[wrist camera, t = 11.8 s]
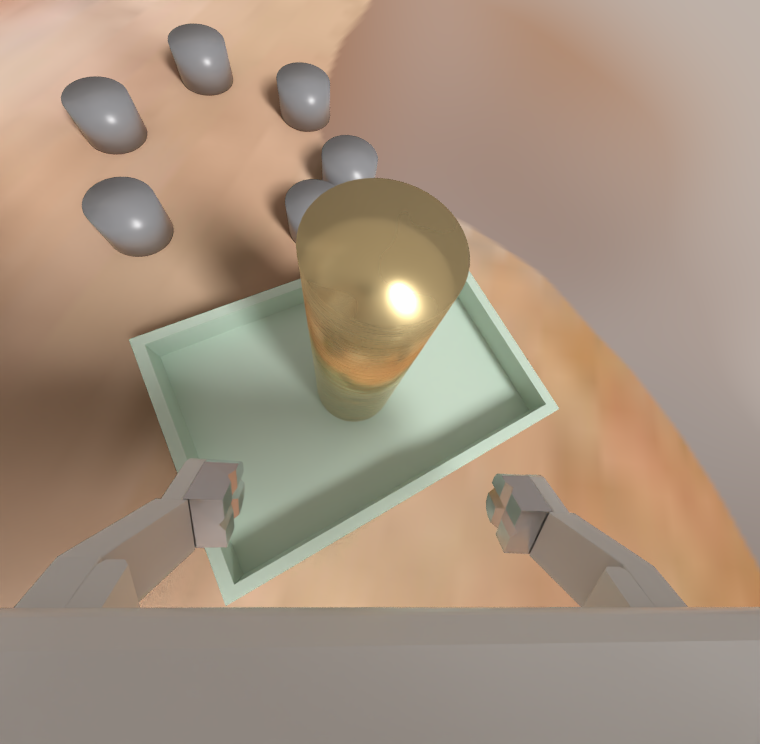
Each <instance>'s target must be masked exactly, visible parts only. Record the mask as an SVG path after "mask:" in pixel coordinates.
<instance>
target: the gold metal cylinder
mask: <svg viewBox="0 0 760 744" xmlns="http://www.w3.org/2000/svg"><path fill="white" fill-rule="evenodd" d="M296 250H297V258H298V265H299V271H300V278H301V284H302V291H303V298H304V304H305V311H306V317H307V324H308V330H309V337H310V343H311V350H312V357H313V363H314V370H315V376H316V383H317V389H318V395H319V398H320V400H321V402H322V404H323V406H324V407H325V408H326V410H327V411H328V412H329V413H331V414H332V415H333V416H335V417H337V418H339V419H342V420H345V421H351V422H357V421H363V420H366V419H369V418H371V417H373V416H374V415H376V414H377V413H378V412H379V411H380V410H381V409H382V408H383V406H384V405H385V404H386V402H387V401H388V399H389V398H390V396H391V395H392V393H393V392H394V390H395V389H396V387H397V386H398V384H399V383H400V381H401V380H402V378H403V377H404V375H405V374H406V372H407V371H408V369H409V368H410V367H411V365H412V364H413V362H414V361H415V359H416V358H417V356H418V355H419V353H420V352H421V350H422V349H423V347H424V346H425V344H426V343H427V341H428V340H429V338H430V337H431V335H432V334H433V332H434V331H435V330H436V328H437V327H438V325H439V324H440V322H441V321H442V319H443V318H444V316H445V315H446V313H447V312H448V310H449V309H450V307H451V306H452V304H453V303H454V301H455V300H456V298H457V297H458V295H459V294H460V292H461V291H462V289H463V287H464V285H465V283H466V280H467V277H468V273H469V267H470V254H469V247H468V243H467V239H466V237H465V234H464V232H463V230H462V228H461V226H460V224H459V223H458V221H457V220H456V218H455V217H454V216H453V214H452V213H451V212H450V211H449V210H448V209H447V208H446V207H445V206H444V205H443V204H442V203H441V202H440V201H438V200H437V199H436V198H434V197H433V196H432V195H430V194H429V193H427V192H425V191H423V190H421V189H419V188H417V187H415V186H412V185H410V184H407V183H404V182H400V181H396V180H391V179H383V178H364V179H356V180H352V181H348V182H345V183H342V184H339V185H337V186H335V187H333V188H331V189H329V190H327V191H326V192H324V193H323V194H321V195H320V196H319V197H318V198H317V199H316V200H314V201H313V203H312V204H311V205H310V206H309V207H308V209H307V210H306V212H305V213H304V215H303V217H302V219H301V222H300V224H299V227H298V232H297V238H296Z"/></svg>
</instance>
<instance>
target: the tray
mask: <svg viewBox="0 0 760 744" xmlns="http://www.w3.org/2000/svg"><path fill="white" fill-rule="evenodd" d="M129 341H130V344H131V347H132V349H133V352H134V355H135V358H136V360H137V363H138V366H139V369H140V371H141V374H142V377H143V380H144V382H145V385H146V388H147V391H148V393H149V396H150V399H151V402H152V405H153V407H154V410H155V413H156V416H157V418H158V421H159V424H160V427H161V429H162V432H163V435H164V438H165V440H166V443H167V446H168V449H169V451H170V454H171V457H172V460H173V462H174V465H175V468H176V471H177V473H178V472H179V471H180V469H181V468H182V466H183V465H184V463H185V462H186V461H187V460H188V459H190V458H197V459H215V460H229V461H241V462H242V463H243V469H244V472H243V475H242V477H241V480H242V481H243V482H244V486H245V491H244V500H243V504H242V508H241V511H240V514H239V515H238V516H237V517H236V518H234V530H233V533H232V535H231V538H230V541H229V543H228V546H227V547H215V548H205V550H206V553H207V556H208V559H209V561H210V564H211V567H212V570H213V572H214V575H215V578H216V581H217V583H218V586H219V589H220V592H221V594H222V597H223V600H224V603H225V605H226V606H227V605H228V604H230V603H232V602H233V601H235V600H237V599H239V598H240V597H242V596H244V595H245V594H247V593H249V592H250V591H252V590H254V589H255V588H257V587H259V586H261V585H262V584H264V583H266V582H267V581H269V580H271V579H272V578H274V577H276V576H277V575H279V574H281V573H282V572H284V571H286V570H288V569H289V568H291V567H293V566H294V565H296V564H298V563H299V562H301V561H303V560H304V559H306V558H308V557H310V556H311V555H313V554H315V553H316V552H318V551H320V550H321V549H323V548H325V547H326V546H328V545H330V544H332V543H333V542H335V541H337V540H338V539H340V538H342V537H343V536H345V535H347V534H348V533H350V532H352V531H354V530H355V529H357V528H359V527H360V526H362V525H364V524H365V523H367V522H369V521H370V520H372V519H374V518H376V517H377V516H379V515H381V514H382V513H384V512H386V511H387V510H389V509H391V508H392V507H394V506H396V505H397V504H399V503H401V502H403V501H404V500H406V499H408V498H409V497H411V496H413V495H414V494H416V493H418V492H419V491H421V490H423V489H425V488H426V487H428V486H430V485H431V484H433V483H435V482H436V481H438V480H440V479H441V478H443V477H445V476H447V475H448V474H450V473H452V472H453V471H455V470H457V469H458V468H460V467H462V466H463V465H465V464H467V463H469V462H470V461H472V460H474V459H475V458H477V457H479V456H480V455H482V454H484V453H485V452H487V451H489V450H491V449H492V448H494V447H496V446H497V445H499V444H501V443H502V442H504V441H506V440H507V439H509V438H511V437H513V436H514V435H516V434H518V433H519V432H521V431H523V430H524V429H526V428H528V427H529V426H531V425H533V424H534V423H536V422H538V421H540V420H541V419H543V418H545V417H546V416H548V415H550V414H551V413H553V412H555V411H556V410H558V409H559V408H558V406H557V404H556V403H555V401H554V400H553V398H552V397H551V395H550V394H549V392H548V391H547V389H546V388H545V386H544V385H543V383H542V382H541V380H540V378H539V377H538V375H537V374H536V372H535V371H534V369H533V368H532V366H531V365H530V363H529V362H528V360H527V359H526V357H525V356H524V354H523V352H522V351H521V349H520V348H519V346H518V345H517V343H516V342H515V340H514V339H513V337H512V336H511V334H510V333H509V331H508V330H507V328H506V327H505V325H504V323H503V322H502V320H501V319H500V317H499V316H498V314H497V313H496V311H495V310H494V308H493V307H492V305H491V304H490V302H489V301H488V299H487V297H486V296H485V294H484V293H483V291H482V290H481V288H480V287H479V285H478V284H477V282H476V281H475V279H474V278H473V276H472V275H471V273H470V271H469V273H468V277H467V280H466V283H465V285H464V287H463V289H462V291H461V292H460V294H459V295H458V297H457V298H456V300H455V301H454V303H453V304H452V306H451V307H450V309H449V310H448V312H447V313H446V315H445V316H444V318H443V319H442V321H441V322H440V324H439V325H438V327H437V328H436V330H435V331H434V332H433V334H432V335H431V337H430V338H429V340H428V341H427V343H426V344H425V346H424V347H423V349H422V350H421V352H420V353H419V355H418V356H417V358H416V359H415V361H414V362H413V364H412V365H411V367H410V368H409V369H408V371H407V372H406V374H405V375H404V377H403V378H402V380H401V381H400V383H399V384H398V386H397V387H396V389H395V390H394V392H393V393H392V395H391V396H390V398H389V399H388V401H387V402H386V404H385V405H384V406H383V408H382V409H381V410H380V411H379V412H378V413H377V414H376V415H374V416H373V417H371V418H369V419H366V420H363V421H357V422H351V421H345V420H342V419H339V418H337V417H335V416H333V415H332V414H331V413H329V412H328V411H327V410H326V408H325V407H324V406H323V404H322V402H321V400H320V398H319V395H318V389H317V383H316V376H315V370H314V363H313V357H312V350H311V343H310V337H309V330H308V324H307V317H306V311H305V304H304V298H303V291H302V284H301V278H300V279H298V280H295V281H292V282H289V283H286V284H284V285H281V286H278V287H275V288H272V289H269V290H267V291H264V292H261V293H258V294H255V295H252V296H250V297H247V298H244V299H241V300H238V301H236V302H233V303H230V304H227V305H224V306H221V307H219V308H216V309H213V310H210V311H207V312H205V313H202V314H199V315H196V316H193V317H190V318H188V319H185V320H182V321H179V322H176V323H174V324H171V325H168V326H165V327H162V328H159V329H157V330H154V331H151V332H148V333H145V334H143V335H140V336H137V337H134V338H131V339H129Z"/></svg>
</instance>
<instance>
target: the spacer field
mask: <svg viewBox="0 0 760 744" xmlns="http://www.w3.org/2000/svg"><path fill="white" fill-rule="evenodd" d="M168 43H169V46H170V49H171V52H172V54H173V57H174V60H175V63H176V65H177V68H178V71H179V74H180V76H181V79H182V82H183V84H184V85H185V86H186V87H187V88H188V89H189V90H191V91H193V92H195V93H198V94H202V95H217V94H220V93H223V92H225V91H227V90H228V89H229V88H230V87H231V86H232V84H233V76H232V71H231V67H230V63H229V59H228V54H227V50H226V46H225V42H224V38H223V36H222V35H221V34H220V33H219V32H218V31H217V30H215V29H213V28H211V27H209V26H206V25H202V24H185V25H181V26H178V27H176V28H175V29H173V30H172V31H171V32H170V33H169V35H168ZM277 86H278V94H279V101H280V109H281V115H282V118H283V120H284V121H285V122H286V123H287V124H288V125H289V126H291V127H292V128H295V129H297V130H300V131H309V132H310V131H317V130H320V129H322V128H323V127H325V126H326V125H327V123H328V122H329V119H330V80H329V78H328V76H327V74H326V73H325V72H324V71H323V70H321V69H320V68H318V67H316V66H314V65H311V64H308V63H291V64H288V65H285V66H284V67H282V68H281V69H280V70H279V71H278V73H277ZM61 101H62V104H63V106H64V107H65V109H66V110H67V112H68V113H69V115H70V116H71V117H72V119H73V120H74V122H75V123H76V125H77V126H78V127H79V129H80V130H81V132H82V133H83V135H84V136H85V137H86V139H87V140H88V142H89V143H90V144H91V145H92V146H93V147H94V148H95V149H97V150H99V151H101V152H104V153H109V154H123V153H128V152H131V151H134V150H136V149H137V148H139V147H140V146H141V145H142V144H143V143H144V142H145V140H146V138H147V129H146V127H145V125H144V123H143V121H142V119H141V117H140V115H139V113H138V111H137V109H136V107H135V105H134V103H133V101H132V99H131V97H130V95H129V93H128V91H127V90H126V88H125V87H124V86H123V85H122V84H120V83H119V82H117V81H115V80H113V79H110V78H106V77H86V78H82V79H78V80H76V81H74V82H72V83H71V84H69V85H68V86H67V87H66V88H65V89H64V91H63V92H62V95H61ZM377 162H378V157H377V153H376V151H375V149H374V148H373V147H372V145H371V144H369V143H368V142H367V141H365V140H363V139H361V138H359V137H356V136H350V135H340V136H336V137H333V138H331V139H330V140H328V141H327V142H326V143H325V144H324V146H323V148H322V180H318V179H309V180H303V181H300V182H298V183H296V184H295V185H293V186H292V187H291V188H290V189H289V191H288V192H287V194H286V198H285V205H286V212H287V218H288V225H289V231H290V235H291V237H292V239H293V240H294V242H295V243H296V238H297V232H298V227H299V224H300V222H301V219H302V217H303V215H304V213H305V212H306V210H307V209H308V207H309V206H310V205H311V204H312V203H313V201H314V200H316V199H317V198H318V197H319V196H320V195H321V194H323V193H324V192H326V191H327V190H329V189H331V188H333V187H335V186H337V185H339V184H342V183H345V182H348V181H352V180H356V179H364V178H375V175H376V168H377ZM82 209H83V213H84V215H85V216H86V218H87V219H88V220H89V221H90V222H91V223H92V224H93V225H94V227H95V228H96V229H97V230H98V231H99V232H100V233H101V234H102V235H103V237H104V238H105V239H106V240H107V241H108V242H109V243H110V244H111V245H112V246H113V247H114V248H115V249H116V250H117V251H119V252H120V253H122V254H125V255H128V256H135V257H142V256H148V255H152V254H154V253H157V252H159V251H160V250H162V249H163V248H165V247H166V246H167V245H168V243H169V242H170V241H171V239H172V236H173V224H172V222H171V220H170V218H169V217H168V215H167V213H166V212H165V210H164V208H163V207H162V205H161V203H160V202H159V200H158V198H157V197H156V195H155V193H154V192H153V190H152V189H151V188H150V187H149V186H148V185H147V184H146V183H144V182H142V181H140V180H138V179H135V178H130V177H114V178H109V179H105V180H103V181H101V182H99V183H97V184H95V185H94V186H92V187H91V188H90V189H89V190H88V191H87V193H86V194H85V196H84V198H83V201H82Z"/></svg>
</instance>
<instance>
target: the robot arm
mask: <svg viewBox="0 0 760 744" xmlns="http://www.w3.org/2000/svg"><path fill="white" fill-rule="evenodd" d="M243 472H244V469H243V463H242V462H241V461H229V460H215V459H197V458H190V459H188V460H187V461H186V462H185V463H184V465H183V466H182V468H181V469H180V471H179V472H178V474H177V475H176V477H175V478H174V480H173V481H172V483H171V484H170V486H169V487H168V489H167V490H166V492H165V493H164V495H163V496H162V498H161V499H154V500H152V501H151V502H149V503H147V504H146V505H144V506H142V507H140V508H139V509H137V510H135V511H134V512H132V513H130V514H129V515H127V516H125V517H124V518H122V519H120V520H118V521H117V522H115V523H113V524H112V525H110V526H108V527H107V528H105V529H103V530H102V531H100V532H98V533H97V534H95V535H93V536H91V537H90V538H88V539H86V540H85V541H83V542H81V543H80V544H78V545H76V546H75V547H73V548H71V549H69V550H68V551H66V552H64V553H63V554H61V555H59V556H58V557H57V558H56V559H55V560H54V561H53V562H52V563H51V565H50V566H49V567H48V568H47V569H46V570H45V572H44V573H43V574H42V575H41V576H40V578H39V579H38V580H37V581H36V582H35V583H34V585H33V586H32V587H31V588H30V589H29V590H28V592H27V593H26V594H25V595H24V596H23V598H22V599H21V600H20V601H19V602H18V603H17V605H16V606H15V607H14V608H0V744H760V607H688V606H687V605H686V604H685V603H684V602H683V601H682V599H681V598H680V597H679V596H678V595H677V593H676V592H675V591H674V590H673V589H672V587H671V586H670V585H669V584H668V583H667V581H666V580H665V579H664V578H663V577H662V575H661V574H660V573H659V572H658V571H657V570H656V568H655V567H654V566H653V565H651V564H650V563H648V562H647V561H645V560H644V559H642V558H641V557H639V556H638V555H636V554H635V553H633V552H632V551H630V550H629V549H627V548H626V547H624V546H623V545H621V544H620V543H618V542H617V541H615V540H614V539H612V538H610V537H609V536H607V535H606V534H604V533H603V532H601V531H600V530H598V529H597V528H595V527H594V526H592V525H591V524H589V523H588V522H586V521H585V520H583V519H582V518H580V517H579V516H577V515H576V514H574V513H569V512H568V510H567V509H566V507H565V506H564V505H563V503H562V502H561V500H560V499H559V498H558V496H557V495H556V493H555V492H554V491H553V489H552V488H551V486H550V485H549V484H548V482H547V481H546V480H545V478H544V477H542V476H541V475H516V474H496V476H495V477H494V479H493V482H492V484H493V486H494V489H493V490H492V491H490V492H489V493H488V496H487V500H486V510H487V515H488V518H489V520H490V522H491V523H492V524H493V525H494V526H495V527H497V528H498V529H497V532H496V536H497V538H498V540H499V543H500V545H501V547H502V549H503V552H504V553H520V554H530V556H531V557H532V558H533V559H534V560H535V561H536V562H537V563H538V564H539V565H540V566H541V567H542V568H543V569H544V570H545V571H546V572H547V573H548V574H549V575H550V576H551V577H552V578H553V579H554V580H555V581H556V582H557V583H558V584H559V585H560V586H561V587H562V588H563V589H564V590H565V591H566V592H567V593H568V594H569V595H570V596H571V597H572V598H573V599H574V600H575V601H576V602H577V603H578V604H579V605H580V606H581V607H366V608H140V605H139V601H140V600H142V599H143V598H144V597H145V596H146V595H147V594H148V593H149V592H150V591H151V590H152V589H153V588H154V587H156V586H157V585H158V584H159V583H160V582H161V581H162V580H163V579H164V578H165V577H166V576H167V575H168V574H169V573H171V572H172V571H173V570H174V569H175V568H176V567H177V566H178V565H179V564H180V563H181V562H182V561H183V560H185V559H186V558H187V557H188V556H189V555H190V554H191V553H192V552H193V551H194V550H195V548H215V547H227V546H228V543H229V541H230V538H231V535H232V533H233V530H234V518H236V517H237V516H238V515H239V514H240V511H241V508H242V504H243V500H244V491H245V486H244V482H243V481H242V480H241V477H242V475H243Z"/></svg>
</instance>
